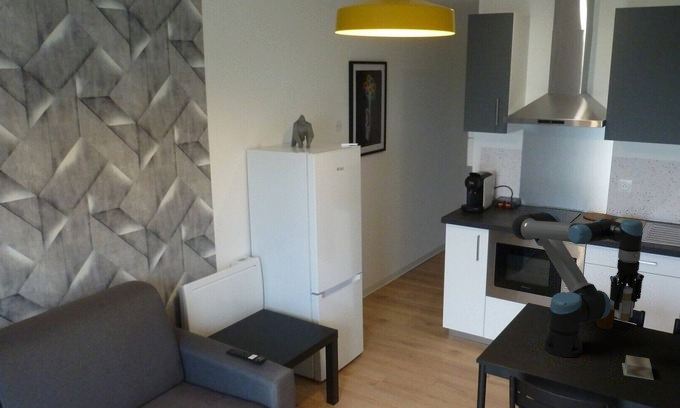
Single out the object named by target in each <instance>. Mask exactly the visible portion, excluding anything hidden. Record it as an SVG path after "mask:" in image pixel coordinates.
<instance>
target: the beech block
mask: <svg viewBox="0 0 680 408" xmlns="http://www.w3.org/2000/svg"><path fill="white" fill-rule="evenodd" d="M624 363H625V367H626V374H628V375H634V376H640V377H647V378H651V370H652V365H651V364H652V363H651V361H650V358H649V357H648V358H647V357H640V356H633V355H628V354H626V355H625V362H624Z"/></svg>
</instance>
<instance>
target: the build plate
mask: <svg viewBox="0 0 680 408" xmlns="http://www.w3.org/2000/svg"><path fill="white" fill-rule="evenodd" d="M621 366H622V371H623V372H622V373H623V376H626V377H632V378H640V379H645V380H649V381H650V380H651V381H654V380H655V379H654V375H653V370H652V369H651V378H647V377H640V376H634V375H628V374H626V367H625V362H622V363H621Z"/></svg>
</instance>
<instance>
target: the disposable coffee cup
mask: <svg viewBox="0 0 680 408" xmlns="http://www.w3.org/2000/svg"><path fill="white" fill-rule="evenodd" d="M609 299H610V298H609ZM610 302H611V307H610V312H609V314H608V315H607V316H606V317H605V318H602V319H600V320H597V321H596V326H597V327H598V328H601V329H602V330H611V329H613V327H614V322H615V318H616V317H615V309H614V301H612V300H611V299H610Z"/></svg>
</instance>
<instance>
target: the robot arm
mask: <svg viewBox="0 0 680 408" xmlns="http://www.w3.org/2000/svg"><path fill="white" fill-rule="evenodd" d="M511 224H512V225H511V231H512V234H513V236H514V237H516V238H517V239H519V240H520V241H521V240H522V241H532V240H534V241H535V243H536V245H537V246H539V247H542V248H543V250H544V251H545V253H546V255H547V256H548V258H549V259H550V261H551V264H553V266H554V268H555V270H556V271H557V273H558V275H559V277H560V278H561V280H562V282H563V283H564V285H565V286H566V288H567V290H568V291H567V292H566V291H563V292H562V291H561V292H557V293H556V294H554V295H553V296H552V297H551V299H550V300H551V301H550V304H549V323H548V325H549V327H548V331H547V332H546V335H545V338H544V339H543V349H544V350H545V351H546V352H548V353H550V354H551V355H553V356H558V357H563V358H574V357H575V358H576V357H578V356H580V355H581V353H582V352H583V343H582V341H581V340H582V339H581V337H580V326H581V325H583V324H586V323H589V322H594V321H595V322H597V320H600V319H602V318H605V317H606V316H607V315H608V314H609V312H610V307H611V302H610V299H611V300H612V301H614V309H615V318H616V319H617V318H619V319H621V311H622V303H621V298H622V295H623V291H624V288H625V287H626V286H629V287H631V288H632V289H633V290H632V295H631V307H630V314H629V318H633V315H634V314H633V312H634V311H633V310H634V309H635V307H636V303H637V302H639V301H638V300H641V295H642V289H643V287H642V286H643V280H644V278H645V274H642V273H639V271H640V259H641V253H642V252H641V251H642V250H641V249H642V248H641V247H642V239H643V235H644V230H643V229H644V225H643V222H642V221H641V220H637V219H631V218H629V219H628V218H626V219H623V220H621V222H618V221H616V220H613V219H609V218H602V217H600V218H596V220H595V221H593V222H588V223H582V222H581V223H580V222H579V223H578V222H577V223H576V222H565V221H564V222H562V221H561V220H560V218H559V217H558V216H557V215H556V214H555V213H554V212H552V211H539V212H534V213H526V214H521V215H519V216H518V215H517V216H516V218H515V219H514V220H513V221H512V223H511ZM608 240H609V241H612V242H613V241H614V242H617V243H618V253H617V264H616V265H617V266H616V267H617V273H616V275H611V276H609V279H610V291H609V295H608V294H607V293H606V292H605V291H602V290H601V289H599V290H598V289H597V288H596V286H595V284H593V283H592V282H588V280H587V278H586V277H585V275H584V272H582V270H581V269H580V267H579V266H578V264H577V262H576V261H575V259H574V258H573V256H572V253H570V250H569V249H568V248H567V245H565V243H564V242H571V243H572V244H573V245H585V244H589V243H595V242H602V241H608Z"/></svg>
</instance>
